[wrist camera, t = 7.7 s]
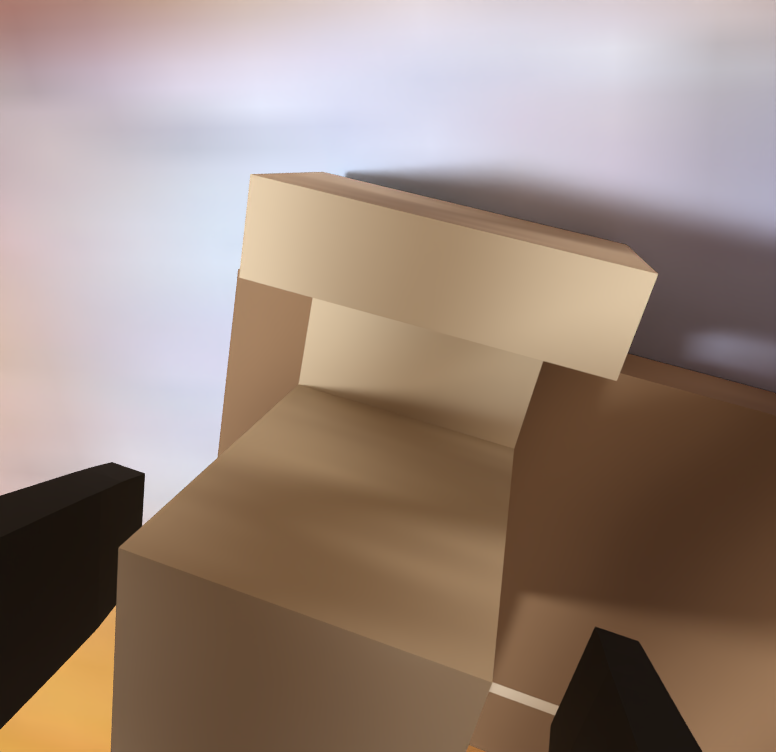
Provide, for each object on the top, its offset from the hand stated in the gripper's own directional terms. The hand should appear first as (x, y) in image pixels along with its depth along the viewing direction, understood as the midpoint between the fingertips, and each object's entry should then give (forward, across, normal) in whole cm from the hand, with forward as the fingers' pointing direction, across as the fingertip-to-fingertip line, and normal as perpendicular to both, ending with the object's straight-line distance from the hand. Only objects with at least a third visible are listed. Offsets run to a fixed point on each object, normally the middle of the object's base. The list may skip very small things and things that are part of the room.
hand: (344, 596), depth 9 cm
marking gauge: (+5, 0, 0) cm, 5 cm away
